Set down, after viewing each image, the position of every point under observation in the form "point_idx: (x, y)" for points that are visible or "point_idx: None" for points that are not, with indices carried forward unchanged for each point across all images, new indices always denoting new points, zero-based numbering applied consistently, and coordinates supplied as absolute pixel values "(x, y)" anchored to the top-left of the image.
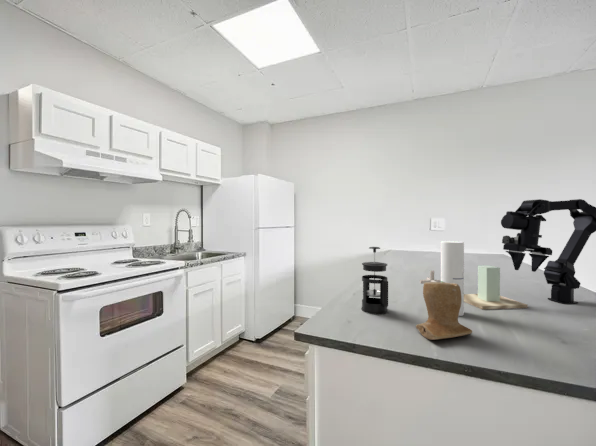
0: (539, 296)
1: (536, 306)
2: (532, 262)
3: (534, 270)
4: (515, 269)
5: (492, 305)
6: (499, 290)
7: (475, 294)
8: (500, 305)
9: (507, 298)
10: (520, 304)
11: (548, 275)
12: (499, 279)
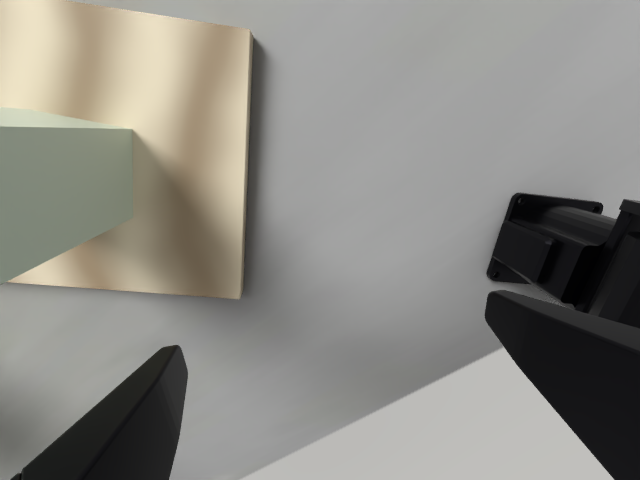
0: (552, 123)
1: (312, 279)
2: (632, 365)
3: (495, 326)
4: (165, 356)
5: (24, 278)
6: (85, 239)
7: (67, 19)
8: (73, 285)
9: (234, 177)
10: (203, 290)
11: (632, 288)
12: (2, 281)
